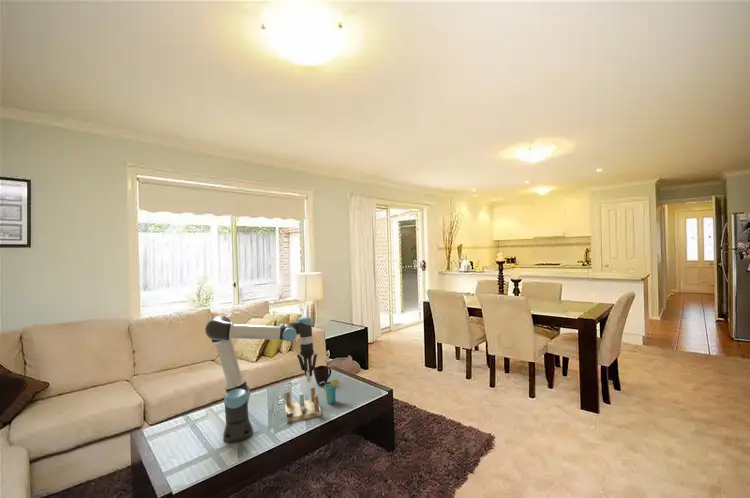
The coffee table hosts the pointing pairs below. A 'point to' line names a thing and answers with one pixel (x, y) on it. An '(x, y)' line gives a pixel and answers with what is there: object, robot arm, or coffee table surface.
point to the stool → (295, 411)
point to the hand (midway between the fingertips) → (309, 381)
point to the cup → (331, 390)
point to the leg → (302, 403)
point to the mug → (322, 374)
